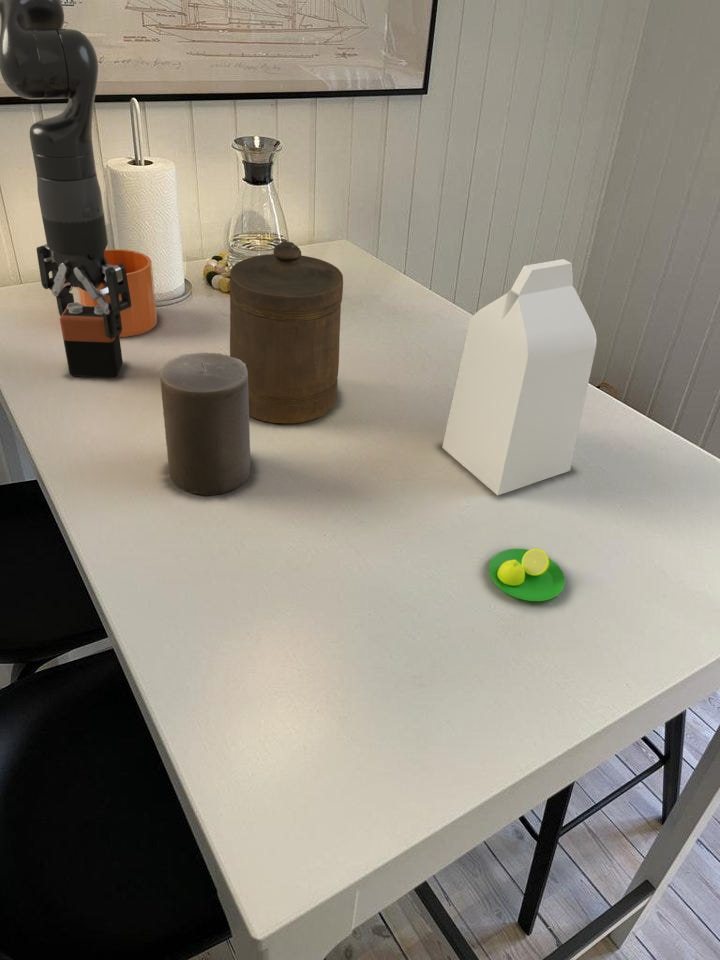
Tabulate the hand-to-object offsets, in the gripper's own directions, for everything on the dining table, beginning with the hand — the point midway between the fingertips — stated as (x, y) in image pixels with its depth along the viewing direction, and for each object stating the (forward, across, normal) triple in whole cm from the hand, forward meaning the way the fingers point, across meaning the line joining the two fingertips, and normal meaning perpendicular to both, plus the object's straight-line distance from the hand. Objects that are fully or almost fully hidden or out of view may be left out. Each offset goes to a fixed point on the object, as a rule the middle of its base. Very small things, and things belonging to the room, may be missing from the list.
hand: (91, 328), depth 105 cm
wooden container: (+7, -26, -10) cm, 29 cm away
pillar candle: (+7, -29, +10) cm, 31 cm away
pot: (+7, +9, -14) cm, 18 cm away
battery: (+7, 0, 0) cm, 7 cm away
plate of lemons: (+7, -68, +6) cm, 69 cm away
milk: (+7, -58, -14) cm, 60 cm away
